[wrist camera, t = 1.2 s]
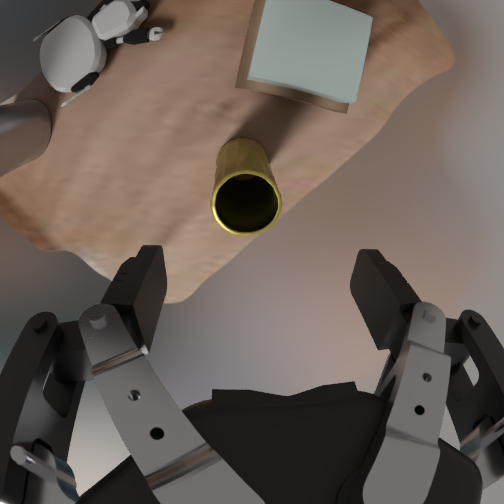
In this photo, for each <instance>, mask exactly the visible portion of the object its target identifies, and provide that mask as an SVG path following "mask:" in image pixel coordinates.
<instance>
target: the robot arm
mask: <svg viewBox="0 0 504 504" xmlns="http://www.w3.org/2000/svg"><path fill="white" fill-rule="evenodd" d="M50 136H51V119H50V115H49V112H48V110H47V108H46V107H45V105H44V104H43V103H42V102H40V101H38V100H26V101H20V102H14V103H9V104H4V105H0V177H1V176H3V175H5V174H7V173H9V172H11V171H12V170H14V169H16V168H18V167H20V166H22V165H24V164H26V163H29V162H31V161H33V160H35V159H37V158H38V157H40V156H41V155H42V153H43V152H44V151H45V149H46V148H47V145H48V143H49V140H50ZM350 290H351V294H352V296H353V298H354V300H355V302H356V304H357V306H358V308H359V310H360V312H361V314H362V316H363V319H364V321H365V323H366V325H367V327H368V329H369V331H370V334H371V336H372V338H373V340H374V342H375V345H376V347H377V349H378V350H384V349H390V354H389V355H388V357H387V360H386V363H385V366H384V369H383V371H382V374H381V377H380V379H379V382H378V385H377V387H376V390H375V392H374V394H371V393H367V392H362V391H357V388H356V385H355V382H346V383H338V384H330V385H322V386H319V387H316V388H314V389H311V390H307V391H305V392H301V393H298V394H295V395H292V396H281V395H275V394H269V393H264V392H258V391H253V390H219V389H213V390H212V399H210V400H205V401H202V402H199V403H195V404H193V405H190V406H188V407H186V408H185V409H183V410H181V409H180V408H179V407H178V405H177V404H176V403H175V401H174V400H173V398H172V397H171V395H170V394H169V393H168V391H167V390H166V388H165V387H164V385H163V384H162V382H161V381H160V379H159V378H158V376H157V374H156V373H155V371H154V370H153V368H152V367H151V365H150V363H149V362H148V360H147V359H146V357H145V355H144V354H149V352H150V348H151V344H152V341H153V337H154V333H155V329H156V326H157V323H158V319H159V316H160V312H161V308H162V305H163V302H164V299H165V295H166V291H167V275H166V269H165V262H164V255H163V249H162V246H161V245H143V246H142V247H141V249H140V251H139V252H138V254H137V256H136V257H130V258H129V259H128V260H126V261H125V262H124V263H123V264H122V265H121V266H120V268H119V270H118V271H117V274H116V275H115V277H114V279H113V281H112V282H111V284H110V286H109V288H108V289H107V291H106V293H105V295H104V297H103V299H102V301H101V303H100V304H96V305H93V306H90V307H89V308H87V309H86V310H84V311H83V312H82V314H81V315H80V317H79V320H77V321H71V322H65V323H59V322H58V320H57V318H56V316H55V315H54V314H53V313H51V312H41V313H38V314H36V315H34V316H33V317H32V318H31V319H29V321H28V322H27V323H26V325H25V327H24V329H23V330H22V332H21V334H20V336H19V338H18V339H17V342H16V343H15V345H14V347H13V349H12V351H11V353H10V355H9V358H8V359H7V361H6V364H5V366H4V368H3V370H2V372H1V374H0V504H480V500H481V495H482V490H483V489H485V488H487V487H488V486H490V485H491V484H492V483H494V482H496V481H498V480H499V479H501V478H503V477H504V348H503V347H502V345H501V343H500V342H499V340H498V339H497V337H496V336H495V334H494V332H493V331H492V329H491V328H490V326H489V325H488V324H487V322H486V321H485V319H484V318H483V317H482V316H481V315H480V314H479V313H477V312H475V311H473V310H464V311H463V312H462V313H461V315H460V317H459V319H458V320H456V319H450V318H446V317H445V315H444V313H443V312H442V310H441V309H439V308H438V307H437V306H435V305H433V304H432V303H428V302H422V301H421V300H420V299H419V297H418V296H417V294H416V293H415V292H414V290H413V289H412V287H411V286H410V285H409V283H407V281H406V279H405V278H404V277H402V274H401V273H400V271H399V270H398V269H397V268H396V267H395V266H394V265H393V264H391V263H390V262H388V261H386V259H385V258H384V257H383V255H382V254H381V253H380V252H379V251H378V250H377V249H361V250H360V251H359V252H358V255H357V259H356V263H355V266H354V270H353V273H352V277H351V281H350ZM469 356H471V358H472V359H473V361H474V363H475V365H476V367H477V369H478V371H479V379H478V382H477V384H476V385H475V386H474V387H473V384H472V382H471V381H470V378H469V376H468V374H467V372H466V370H465V368H464V366H463V364H464V363H465V362H466V360H467V359H468V358H469ZM48 371H49V372H50V374H49V377H48V379H47V382H46V384H45V387H44V390H43V385H44V382H45V379H46V377H47V374H48ZM88 380H95V382H96V384H97V387H98V389H99V392H100V394H101V396H102V399H103V401H104V403H105V405H106V407H107V409H108V412H109V414H110V416H111V418H112V420H113V422H114V424H115V426H116V428H117V430H118V432H119V434H120V436H121V438H122V440H123V441H124V443H125V445H126V447H127V449H128V450H129V452H130V454H131V455H130V456H129V457H127V458H126V459H125V460H124V461H123V462H122V463H120V464H119V465H118V466H117V467H116V468H115V469H113V470H112V471H111V472H110V473H108V474H107V475H106V476H105V477H104V478H102V479H101V480H100V481H99V482H97V483H96V484H95V485H94V486H92V487H91V488H90V489H88V490H87V491H86V492H85V493H83V494H82V495H81V496H80V497H79V495H78V493H77V491H76V482H75V476H74V473H73V471H72V469H71V467H70V466H69V465H68V464H67V457H68V451H69V446H70V441H71V437H72V432H73V427H74V422H75V419H76V414H77V410H78V406H79V403H80V398H81V395H82V391H83V388H84V384H85V381H88ZM445 404H446V405H447V408H448V410H449V413H450V416H451V418H452V421H453V424H454V427H455V430H456V433H457V435H458V439H459V441H460V450H457V449H456V448H454V447H453V446H451V445H450V444H448V443H447V442H445V441H444V440H442V439H441V438H439V434H440V429H441V425H442V420H443V414H444V410H445Z"/></svg>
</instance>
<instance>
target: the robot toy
mask: <svg viewBox="0 0 504 504" xmlns="http://www.w3.org/2000/svg"><path fill="white" fill-rule="evenodd" d="M149 7H150V3H149V1H147V0H105V3H104V5H103V6H102V8H101V9H100V10H99V9H97V10H96V11H95V12H94V13H93V14H92V15H91V16H92V17H93V20H92V22H91V21H90V20H88V19H86V18H85V17H83V16H79V15H74V16H72V17H66V18H64V19H62V20H61V21H58V22H56V24H55V25H53V26H52V27H50V28H49V29H48V30H46V31H45V32H43V33H42V34H40V35H39V36H38V37H36V38H35V39H34V40H33V41H36V40H37V39H39V38H40V37H41V36H42V35H44V34H45V33H46V32H48V31H49V30H50V31H49V32H48V33H47V35H46V36H45V38H44V40H43V42H42V44H41V48H40V64H41V68H42V73H43V75H44V77H45V78H46V79H47V81H48V82H49V84H50V85H51V86H52V87H53V88H54V89H56V90H57V91H60V92H79V93H78V94H76V95H75V96H73V97H72V98H71V99H69V100H68V101H66V102H64V103H63V104H62V106H65V105H66V104H68V102H70V101H71V100H73V99H74V98H75V97H77V96H78V95H80V94H81V93H83V92H84V91H87V90H89V89H90V88H91V87H90V86H91V85H92V84H93V83H94V82H95V81H96V79H97V78H98V77H99V72H100V71H101V70H102V69H103V67H104V66H105V62H106V47H107V48H113V47H117V46H118V44H119V43H123V42H124V43H128V44H133V45H135V44H141V43H147V42H149V39H150V40H153V41H156V40H158V39H161V37H162V35H163V34H162V33H161V34H156V33H159V32H163V29H162V28H161V27H154V28H152V29H151V30H149V29H148V28H142V29H138V28H139V26H140V24H141V23H142V22H143V21H144V20H145V19H146V18H147V16H148V11H147V10H148V8H149ZM104 41H105V42H106V46H105V42H104ZM62 106H61V107H62Z"/></svg>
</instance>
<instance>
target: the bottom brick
mask: <svg viewBox="0 0 504 504" xmlns="http://www.w3.org/2000/svg"><path fill="white" fill-rule="evenodd" d="M264 3H265V0H255V3H254V7H253V11H252V15H251V19H250V23H249V27H248V31H247V35H246V39H245V44H244V48H243V53H242V57H241V62H240V66H239V71H238V76H237V81H236V85H235V89H240V90H246V91H252V92H257V93H263V94H268V95H272V96H277V97H282V98H286V99H290V100H294V101H299V102H302V103H306V104H310V105H314V106H317V107H321V108H324V109H328V110H331V111H334V112H340V113H346V114H347V110H348V106H349V103H340V102H337V101H334V100H331V99H328V98H324V97H321V96H317V95H314V94H310V93H306V92H303V91H299V90H295V89H291V88H286V87H282V86H278V85H273V84H268V83H263V82H258V81H252V80H247V77H248V72H249V68H250V63H251V59H252V54H253V50H254V45H255V41H256V37H257V32H258V28H259V24H260V20H261V16H262V11H263V7H264Z"/></svg>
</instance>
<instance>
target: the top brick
mask: <svg viewBox="0 0 504 504" xmlns="http://www.w3.org/2000/svg"><path fill="white" fill-rule="evenodd" d="M372 19H373V17H371V16H368V15H366V14H364V13H361V12H359V11H357V10H354V9H352V8H349V7H346V6H344V5H341V4H338V3H335V2H332V1H329V0H265V3H264V7H263V11H262V16H261V20H260V24H259V28H258V32H257V37H256V41H255V45H254V50H253V54H252V59H251V63H250V68H249V72H248V77H247V80H252V81H258V82H263V83H268V84H273V85H278V86H282V87H286V88H291V89H295V90H299V91H303V92H306V93H310V94H314V95H317V96H321V97H324V98H328V99H331V100H334V101H337V102H340V103H352V104H355V102H356V98H357V94H358V89H359V85H360V80H361V76H362V71H363V67H364V62H365V57H366V52H367V47H368V42H369V36H370V31H371V25H372Z"/></svg>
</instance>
